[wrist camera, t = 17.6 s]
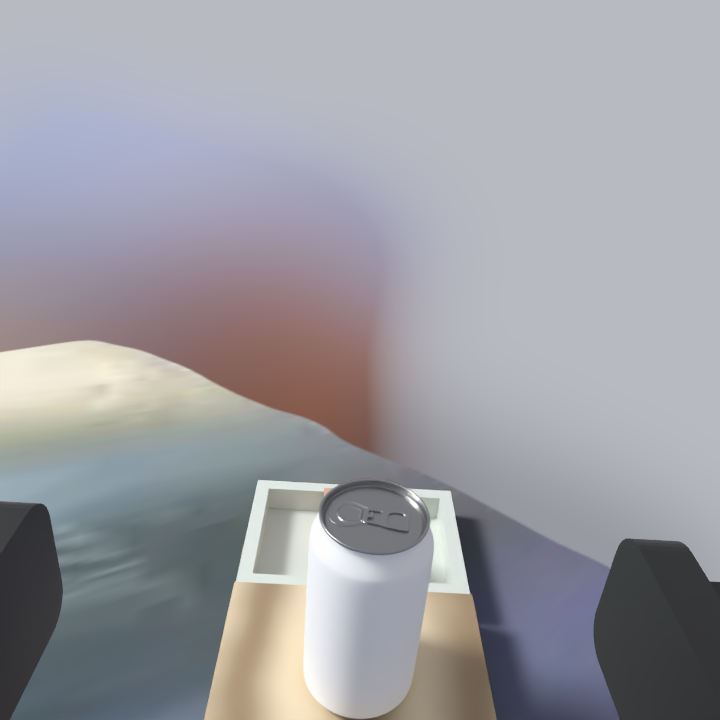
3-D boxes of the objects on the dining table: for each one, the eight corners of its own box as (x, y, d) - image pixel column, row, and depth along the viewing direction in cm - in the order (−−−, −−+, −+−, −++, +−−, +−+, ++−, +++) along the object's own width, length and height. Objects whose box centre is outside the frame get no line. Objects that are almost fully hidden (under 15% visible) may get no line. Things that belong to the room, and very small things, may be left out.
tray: (235, 609, 46) (235, 583, 44) (258, 503, 55) (258, 480, 54) (465, 621, 46) (470, 595, 45) (446, 514, 56) (450, 491, 55)
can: (313, 618, 42) (322, 465, 36) (415, 635, 41) (440, 482, 36) (290, 713, 36) (297, 548, 30) (408, 734, 35) (437, 569, 30)
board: (197, 796, 35) (194, 762, 33) (235, 613, 45) (234, 581, 44) (497, 809, 35) (507, 776, 34) (465, 625, 46) (472, 594, 44)
